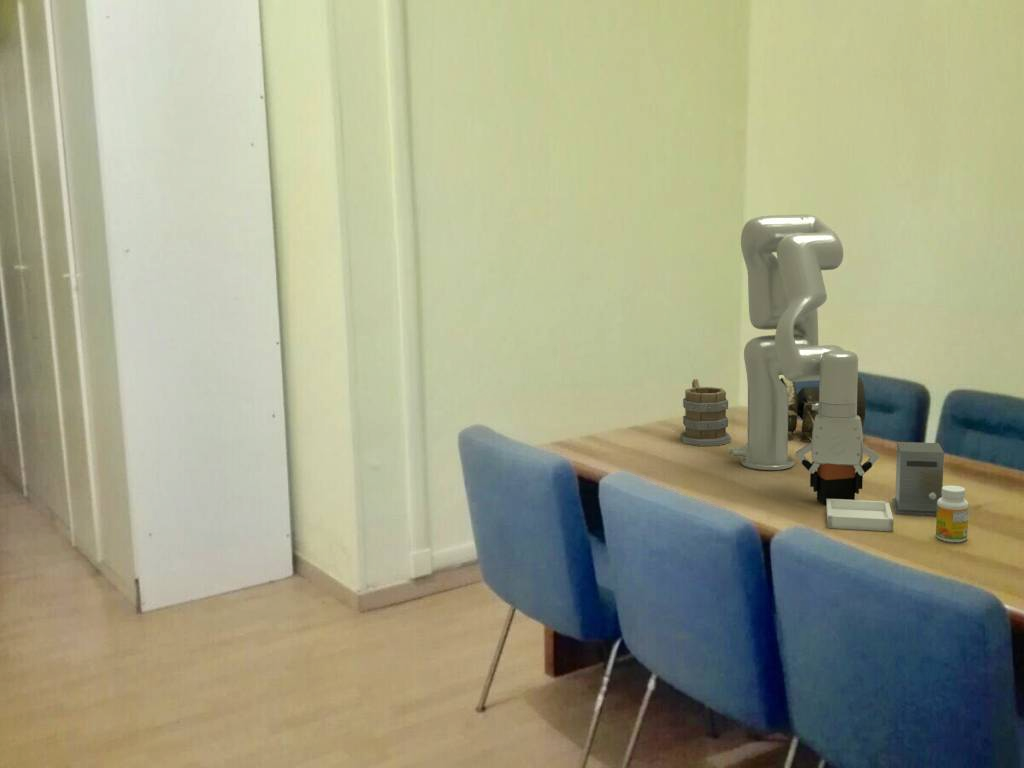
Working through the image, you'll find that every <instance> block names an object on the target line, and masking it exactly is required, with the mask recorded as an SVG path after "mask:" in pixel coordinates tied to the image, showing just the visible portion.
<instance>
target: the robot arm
mask: <svg viewBox="0 0 1024 768" xmlns="http://www.w3.org/2000/svg"><path fill="white" fill-rule="evenodd" d="M740 246H741V253H742V258H743V260H744V263H745V267H746V270H747V291H748V292H747V294H748V296H747V297H748V316H749V320H750V323H751V325H752V327H754V328H755V329H757V330H765V331H766V330H771V331H772V330H775V334H771V335H770V334H769V335H760V336H757V337H753V338H751V339H750V340H749V341H748V342H747V343H746V344H745V347H744V348H743V349H744V350H743V360H744V364H745V371H746V380H747V442H746V443H745V444H746V445H742V446H732V445H731V446H728V454H729V455H733V456H735V457H736V456H741V458H740V464H741V465H742V466H744V467H745V468H749V469H755V470H762V471H780V470H781V471H782V470H786V469H790V468H792V467H793V466H795V459H794V458H793V457H791V456H789V453H788V452H789V449H788V447H789V432H788V391H787V389H786V387H785V385H784V384H783V383H782V382H781V380H780V379H781V378H780V376H783V378H786V379H787V380H789V381H792V382H795V383H803V382H817V381H818V382H819V386H818V387H819V402H818V404H817V403H816V404H812V410H816V411H818V412H819V414H818V415H816V416H815V420H814V425H813V433H812V442H811V441H810V442H809V443H807V444H805V445H804V446H803V447H801V448H799V449H798V450H797V451H795V457H796V458H797V459H798V461H799V462H800V463H801V465H802V466H803V467H804V468H805V469H806V470H807V471H808V472H809V473H810V474H809V477H810V478H809V479H810V480H809V487H811V488H813V492H814V493H817V468H818V467H819V465H820V464H827V463H830V464H835V465H851V466H854V468H855V469H856V474H855V495H859V494H860V490H863V482H864V481H863V479H864V478H863V476H864V475H865V473H866V472H868V471H869V470H870V469H871V468H872V467H873V465H875V463H876V462H877V461H878V460H879V458H880V456H879V454H878V453H877V452H875V451H874V450H872V449H871V448H869V447H868V446H866V445H865V444H864V442H863V435H864V434H863V428H862V424H861V419H860V417H859V416H857V383H858V377H859V375H858V373H859V371H858V370H859V358H858V356H857V354H856V353H855V352H853V351H850V350H845V349H844V348H842V347H841V346H838V345H835V344H829V345H827V344H826V345H819V321H818V320H819V317H818V316H819V315H818V314H819V312H818V308H820V307H821V306H822V305H824V304H825V303H826V302H827V299H828V294H827V290H826V287H825V283H824V277H823V273H822V272H823V271H832V270H836V269H838V268H839V267H840V266H841V264H842V262H843V259H844V247H843V244H842V241H841V239H840V238H839V236H838V235H837V233H836V232H835V231H834V230H833V229H832V228H831V227H829V225H827V224H826V223H824V222H823V221H822V220H821V219H819V217H817V216H814V215H812V214H788V215H787V214H784V215H783V214H782V215H781V214H780V215H778V214H776V215H764V216H757V217H753V218H751V219H749V220H748V221H747V222H745V224H744V226H743V228H742V230H741V234H740ZM774 253H776V255H775V254H774ZM809 452H811V455H810V456H811V460H812V462H810V461H809V460H808V459H807V458H806V456H805V455H807V454H808V453H809ZM864 454H865V455H866V456H868V457H869V458H868V460H866V461H865V462H864V463H863V464H862V462H863V457H864Z"/></svg>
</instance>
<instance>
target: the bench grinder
mask: <svg viewBox="0 0 1024 768" xmlns="http://www.w3.org/2000/svg"><path fill="white" fill-rule="evenodd" d="M779 379H780V380H781V382H782V383H783V384H784V385H785V387H786V389H787V391H788V433H791V435H793V434H794V432H796V430H797V424H798V417H799V418H800V419H801V420H802V424H801V432H800V441H803V440H809V441H808V442H810V443H811V442H812V433H813V425H814V420H815V416H816V415H818V414H819V412H818V411H816V410H812V404H816V403H817V404H818V402H819V386H806V387H805V386H804V387H802V388H801V389H800V390H799V391H798V393H797V388H796V386H797V385H796V382H792V381H789V380H787V379H786V378H785V377H781V378H779ZM863 382H864V381H863V380H862V378H861V377H859V376H858V383H857V416H859V417H860V419H861V424H862V429H863V427H864V425H865V420H866V411H867V410H866V406H867V405H866V404H867V401H866V393H865V392H866V391H865V386H864V383H863ZM810 440H811V441H810Z"/></svg>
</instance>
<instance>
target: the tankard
mask: <svg viewBox="0 0 1024 768" xmlns="http://www.w3.org/2000/svg"><path fill="white" fill-rule="evenodd" d="M691 385H692V386H691V388H687V389H685V390H684V392H685V396H684V398H683V399H682V407H683V408H684V410H685V411H684V412H685V413H684V414H685V415H683V416H682V424H683V426H684V427H685V432H684V431H683V432H681V433H680V440H681V441H682V443H683V444H684V445H688V444H689V445H691V446H694V445H695V446H694V447H700V446H701V447H719V446H720V445H721V446H724V445H726V443H727V444H729V442H730V443H731V442H732V436H731V435H730V434H729V433H728V432H727V431H726V429H727V428H728V427H729V418H728V417H727V411H726V410H729V400H728V399H726V398H727V397H726V395H727V393H726V391H725V389H723V388H722V387H721V388H720V387H715V386H714V387H713V386H710V387H709V386H701V385H700V383H699V379H697V378H696V379H692V382H691ZM723 444H724V445H723Z"/></svg>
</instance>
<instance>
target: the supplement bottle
mask: <svg viewBox="0 0 1024 768" xmlns="http://www.w3.org/2000/svg"><path fill="white" fill-rule="evenodd" d="M965 497H966V488H965V487H962V486H961V485H960V486H959V485H943V487H942V497H941V498H939V499H938V501H937V516H936V521H935V537H936V538H937V539H938V540H939V541H942V540H943V542H946V541H947V542H946V543H953V542H957V543H963V542H966V541H967V539H968V531H969V530H968V526H969V522H968V521H969V502H968V501H967V500H966V499H965Z"/></svg>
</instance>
